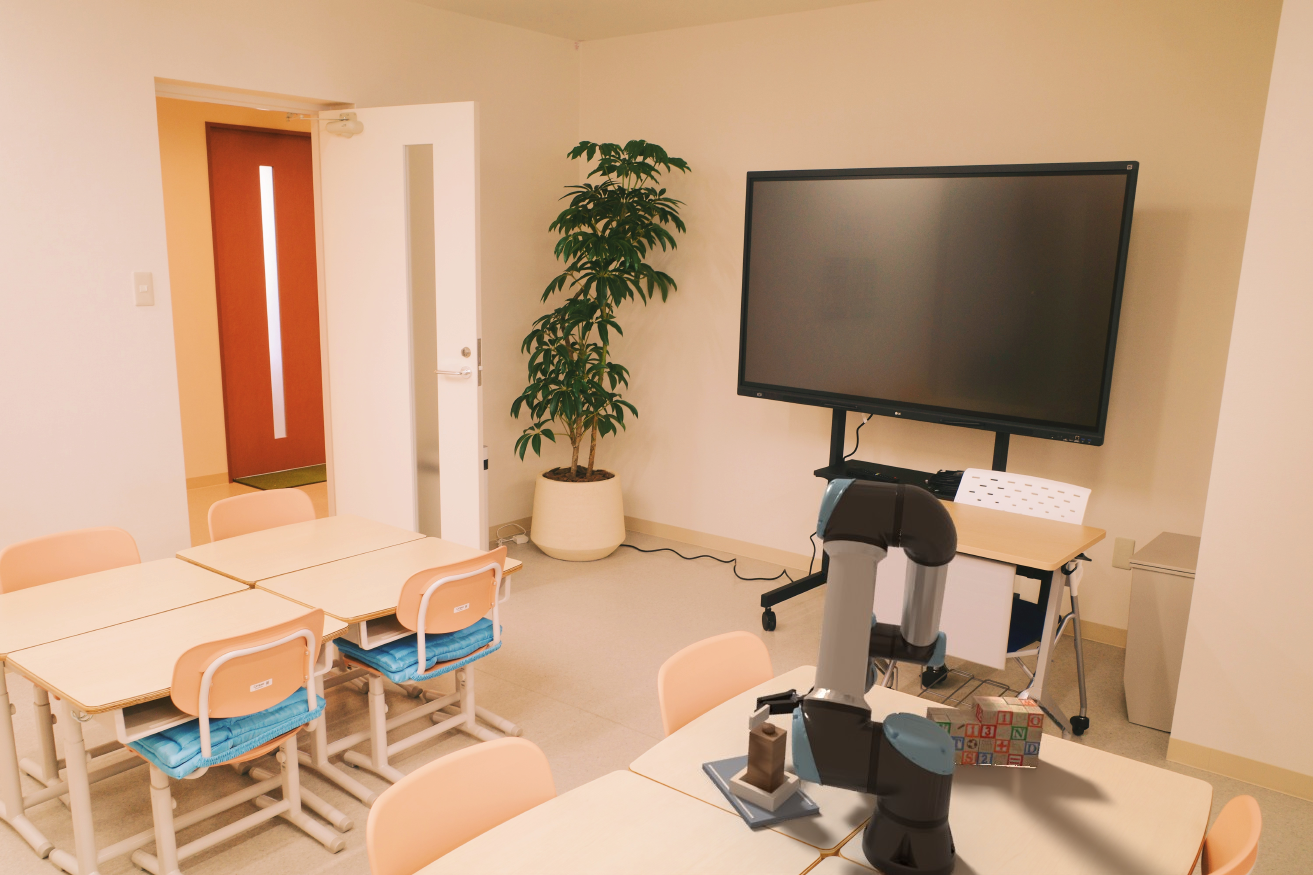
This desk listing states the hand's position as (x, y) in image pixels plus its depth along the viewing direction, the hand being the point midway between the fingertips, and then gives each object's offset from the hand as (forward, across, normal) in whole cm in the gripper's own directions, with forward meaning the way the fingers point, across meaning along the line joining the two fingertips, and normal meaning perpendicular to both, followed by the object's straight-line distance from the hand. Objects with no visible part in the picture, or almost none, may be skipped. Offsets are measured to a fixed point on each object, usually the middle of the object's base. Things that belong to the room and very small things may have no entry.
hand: (781, 735), depth 168 cm
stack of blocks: (-35, -27, -10) cm, 45 cm away
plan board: (+5, +2, -10) cm, 11 cm away
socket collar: (+6, 0, -10) cm, 11 cm away
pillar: (+6, 0, -9) cm, 10 cm away
